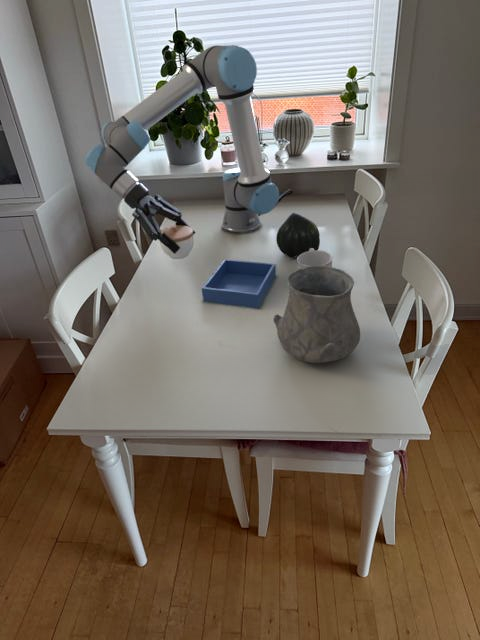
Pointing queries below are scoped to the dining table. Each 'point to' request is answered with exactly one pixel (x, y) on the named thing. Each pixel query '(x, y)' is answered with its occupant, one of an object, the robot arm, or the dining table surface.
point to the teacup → (314, 259)
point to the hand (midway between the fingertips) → (185, 242)
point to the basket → (239, 283)
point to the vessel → (318, 315)
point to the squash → (297, 236)
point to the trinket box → (179, 240)
